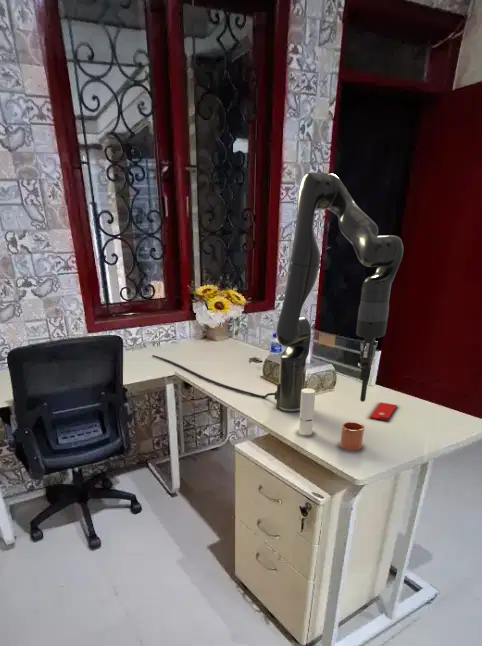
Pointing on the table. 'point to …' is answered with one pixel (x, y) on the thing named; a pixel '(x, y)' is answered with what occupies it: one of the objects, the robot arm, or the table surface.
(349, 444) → the pen cup
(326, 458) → the table surface
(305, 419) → the tube
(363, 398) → the stylus
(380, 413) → the electronic device
